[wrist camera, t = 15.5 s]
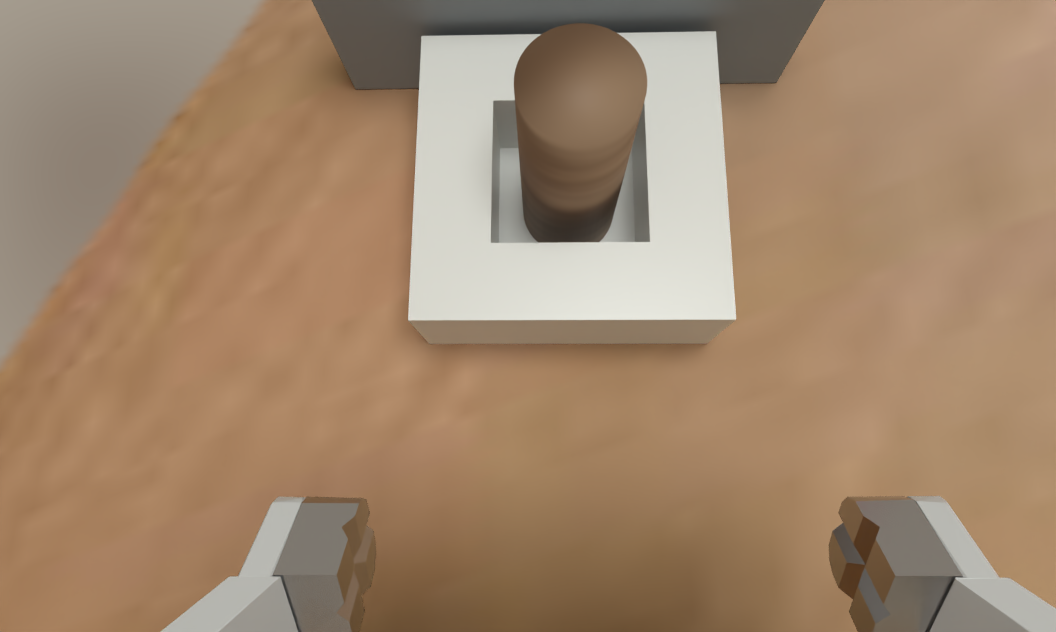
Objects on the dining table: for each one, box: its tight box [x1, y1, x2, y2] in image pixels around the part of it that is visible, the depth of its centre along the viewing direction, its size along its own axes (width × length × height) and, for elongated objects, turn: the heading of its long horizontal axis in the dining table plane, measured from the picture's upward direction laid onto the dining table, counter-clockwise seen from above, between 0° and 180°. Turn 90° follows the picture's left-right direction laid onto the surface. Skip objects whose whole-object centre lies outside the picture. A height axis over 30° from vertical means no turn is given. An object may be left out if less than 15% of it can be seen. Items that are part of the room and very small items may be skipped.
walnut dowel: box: [514, 23, 647, 243], centre depth 25 cm, size 4×4×10 cm
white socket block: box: [408, 31, 736, 344], centre depth 28 cm, size 12×12×5 cm
